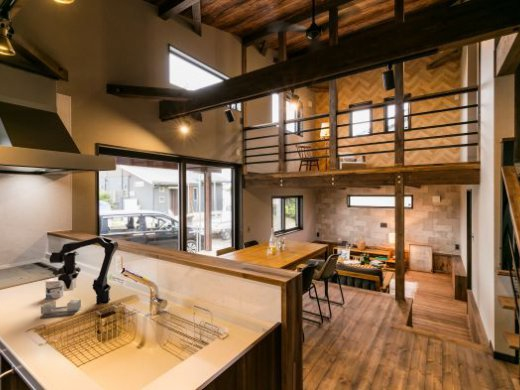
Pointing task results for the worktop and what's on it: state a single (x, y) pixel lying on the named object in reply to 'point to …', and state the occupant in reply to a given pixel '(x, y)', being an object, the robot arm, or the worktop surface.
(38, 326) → the worktop surface
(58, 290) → the ink box
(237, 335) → the worktop surface
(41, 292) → the worktop surface
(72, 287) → the logic module
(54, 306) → the din rail
